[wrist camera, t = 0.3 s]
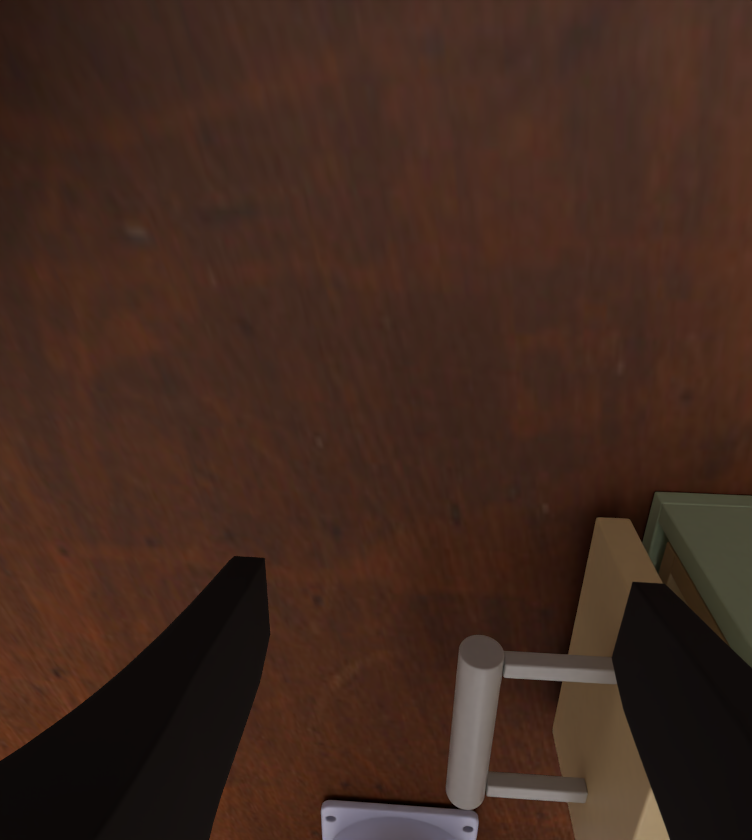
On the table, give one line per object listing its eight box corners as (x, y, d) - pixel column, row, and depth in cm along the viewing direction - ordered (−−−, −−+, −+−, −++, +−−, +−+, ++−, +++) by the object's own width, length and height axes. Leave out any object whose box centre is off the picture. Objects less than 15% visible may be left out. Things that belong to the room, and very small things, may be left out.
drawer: (439, 722, 27) (445, 933, 20) (456, 509, 22) (472, 694, 15) (873, 750, 26) (1038, 984, 19) (998, 534, 21) (1287, 745, 14)
